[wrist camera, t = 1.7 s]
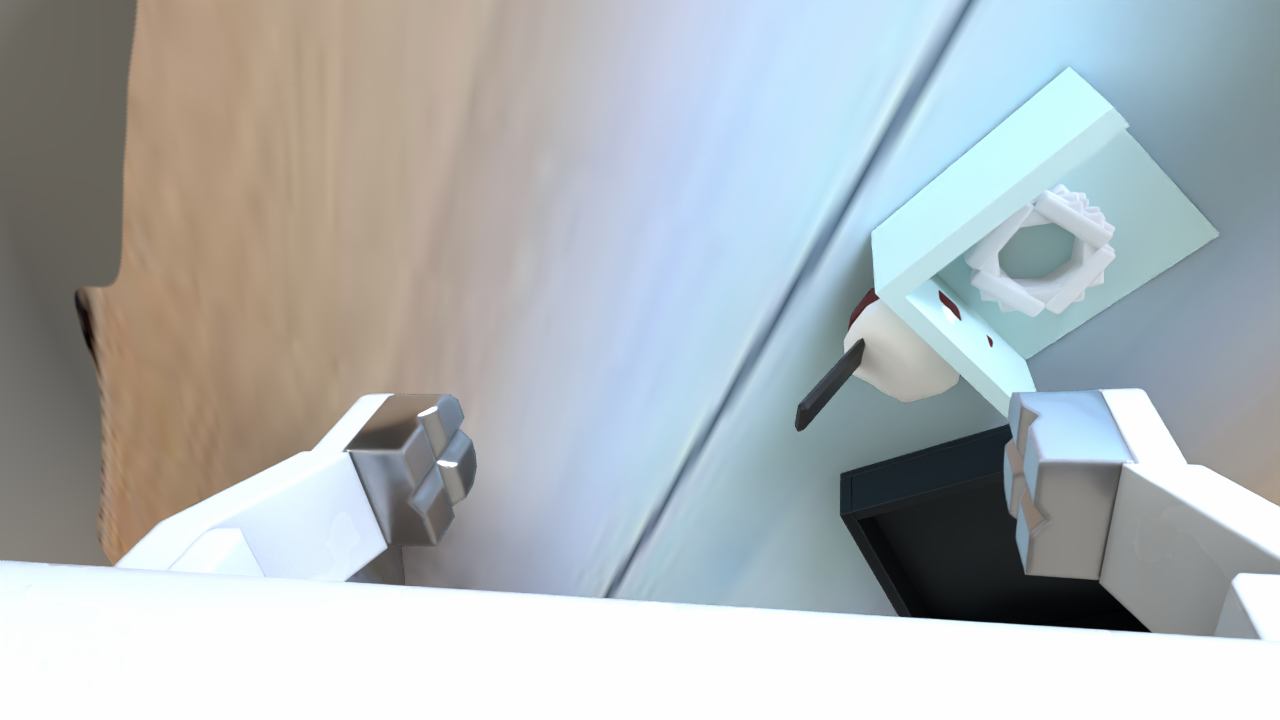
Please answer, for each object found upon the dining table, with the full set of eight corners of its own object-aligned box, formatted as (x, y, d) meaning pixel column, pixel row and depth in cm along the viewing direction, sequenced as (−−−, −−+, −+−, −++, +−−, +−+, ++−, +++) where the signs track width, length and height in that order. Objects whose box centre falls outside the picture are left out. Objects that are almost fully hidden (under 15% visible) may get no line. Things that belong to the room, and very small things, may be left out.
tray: (1091, 399, 47) (1110, 441, 43) (1170, 601, 53) (1192, 652, 50) (839, 473, 53) (839, 515, 50) (937, 644, 60) (942, 692, 56)
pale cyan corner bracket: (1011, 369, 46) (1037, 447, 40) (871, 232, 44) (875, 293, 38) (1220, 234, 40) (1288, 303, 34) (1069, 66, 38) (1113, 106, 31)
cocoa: (1000, 302, 45) (1044, 429, 35) (933, 382, 48) (956, 518, 38) (850, 227, 44) (852, 333, 34) (794, 313, 48) (781, 432, 38)
